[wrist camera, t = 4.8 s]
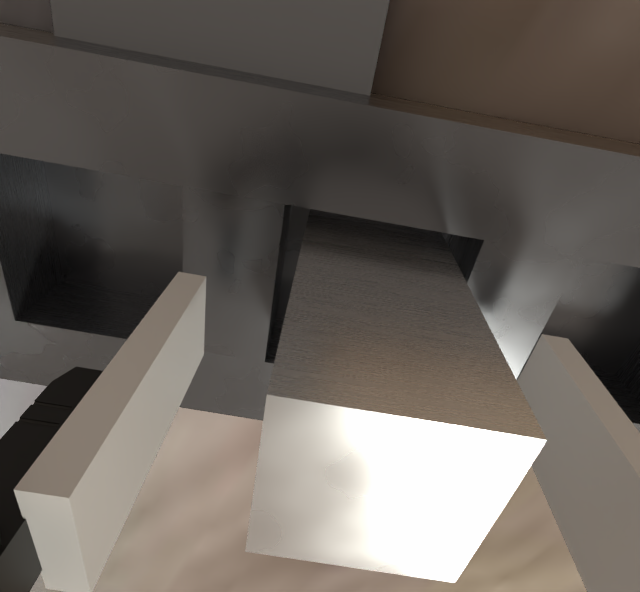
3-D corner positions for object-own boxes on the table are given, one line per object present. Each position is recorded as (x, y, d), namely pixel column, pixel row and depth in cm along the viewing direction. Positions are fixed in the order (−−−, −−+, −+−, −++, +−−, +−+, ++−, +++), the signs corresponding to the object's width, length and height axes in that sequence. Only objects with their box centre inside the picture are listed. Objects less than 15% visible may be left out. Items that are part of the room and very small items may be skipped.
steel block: (295, 305, 18) (245, 551, 9) (312, 199, 15) (266, 394, 7) (402, 324, 18) (454, 582, 9) (436, 222, 15) (547, 440, 7)
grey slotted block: (42, 318, 20) (-22, 374, 17) (-20, 19, 14) (-141, 9, 10) (612, 413, 21) (663, 484, 18) (786, 172, 15) (919, 209, 11)
